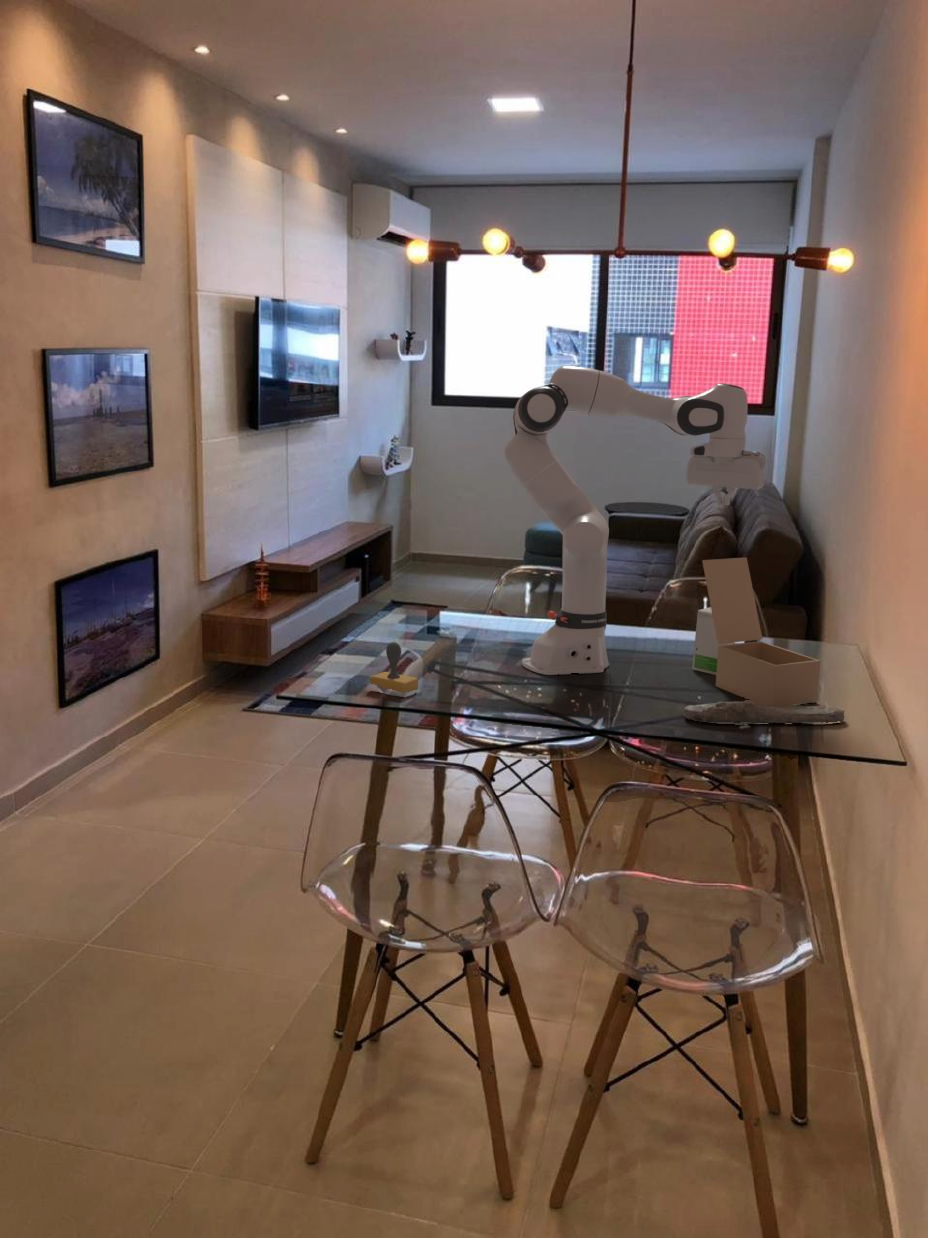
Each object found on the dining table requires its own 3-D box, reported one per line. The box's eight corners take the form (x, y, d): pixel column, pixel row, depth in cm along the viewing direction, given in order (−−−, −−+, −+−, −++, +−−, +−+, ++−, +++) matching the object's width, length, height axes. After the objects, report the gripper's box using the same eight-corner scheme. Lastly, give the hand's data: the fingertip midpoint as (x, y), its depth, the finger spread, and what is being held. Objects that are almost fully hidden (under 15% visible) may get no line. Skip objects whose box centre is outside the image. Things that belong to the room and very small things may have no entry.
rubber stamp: (369, 691, 248) (369, 641, 245) (384, 686, 252) (384, 636, 250) (403, 699, 242) (403, 647, 240) (418, 693, 247) (419, 642, 245)
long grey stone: (851, 735, 227) (833, 723, 237) (854, 711, 226) (836, 700, 236) (689, 726, 225) (678, 714, 235) (692, 702, 224) (680, 691, 234)
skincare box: (691, 670, 271) (695, 610, 268) (705, 665, 276) (708, 606, 273) (720, 676, 266) (725, 615, 262) (734, 671, 271) (738, 611, 267)
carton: (771, 709, 239) (775, 665, 237) (715, 686, 257) (718, 645, 255) (816, 702, 245) (820, 660, 242) (758, 680, 262) (761, 641, 260)
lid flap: (703, 560, 257) (702, 560, 258) (719, 643, 254) (717, 644, 255) (746, 557, 263) (745, 557, 263) (762, 639, 260) (760, 639, 260)
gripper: (771, 451, 265) (766, 507, 268) (696, 447, 277) (693, 500, 280) (760, 452, 260) (755, 509, 263) (684, 448, 273) (681, 502, 276)
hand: (723, 504), depth 272 cm, fingers closed
